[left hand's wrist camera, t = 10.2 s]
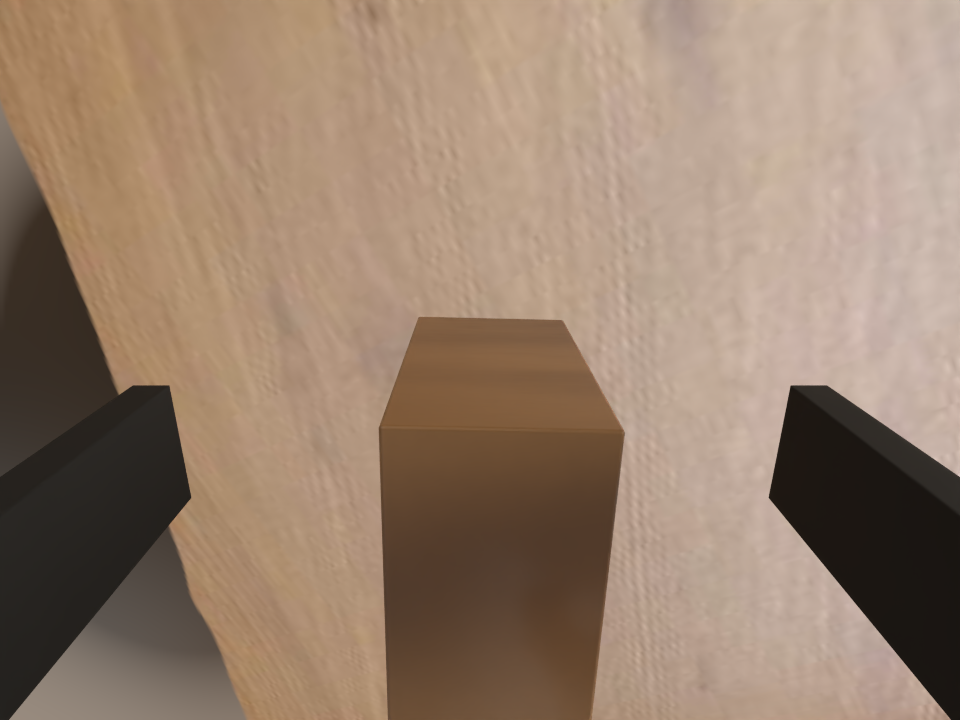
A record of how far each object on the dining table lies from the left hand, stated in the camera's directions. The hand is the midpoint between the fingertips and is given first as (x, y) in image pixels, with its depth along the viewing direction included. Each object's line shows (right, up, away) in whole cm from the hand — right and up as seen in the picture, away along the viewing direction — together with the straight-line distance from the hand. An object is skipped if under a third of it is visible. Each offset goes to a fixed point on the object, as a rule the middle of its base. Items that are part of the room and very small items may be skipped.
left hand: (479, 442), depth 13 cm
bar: (0, -10, +13) cm, 16 cm away
